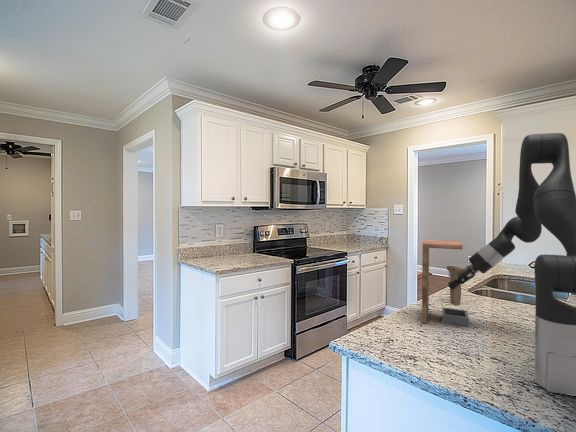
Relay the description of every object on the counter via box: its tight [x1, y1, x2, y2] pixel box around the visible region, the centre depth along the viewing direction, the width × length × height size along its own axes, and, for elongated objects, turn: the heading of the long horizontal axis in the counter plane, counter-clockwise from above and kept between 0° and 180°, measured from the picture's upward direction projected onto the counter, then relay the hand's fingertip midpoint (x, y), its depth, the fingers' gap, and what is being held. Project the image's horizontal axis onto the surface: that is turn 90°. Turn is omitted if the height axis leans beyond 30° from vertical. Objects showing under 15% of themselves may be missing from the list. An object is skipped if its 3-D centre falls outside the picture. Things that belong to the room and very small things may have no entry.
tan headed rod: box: [446, 265, 465, 306], centre depth 124 cm, size 5×6×15 cm
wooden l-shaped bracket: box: [421, 239, 463, 325], centre depth 126 cm, size 18×14×32 cm
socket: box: [441, 307, 470, 328], centre depth 124 cm, size 10×9×4 cm
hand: (450, 286), depth 125 cm, fingers closed on tan headed rod, 3 cm apart
